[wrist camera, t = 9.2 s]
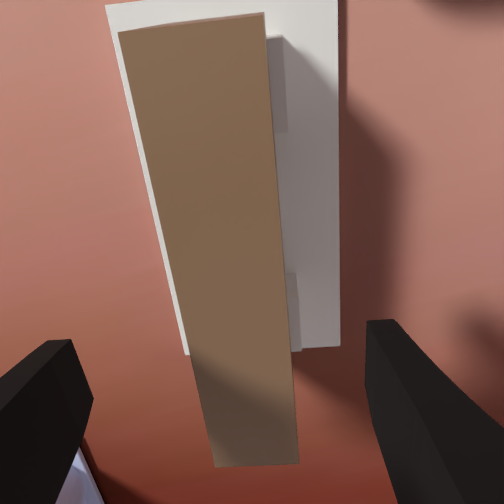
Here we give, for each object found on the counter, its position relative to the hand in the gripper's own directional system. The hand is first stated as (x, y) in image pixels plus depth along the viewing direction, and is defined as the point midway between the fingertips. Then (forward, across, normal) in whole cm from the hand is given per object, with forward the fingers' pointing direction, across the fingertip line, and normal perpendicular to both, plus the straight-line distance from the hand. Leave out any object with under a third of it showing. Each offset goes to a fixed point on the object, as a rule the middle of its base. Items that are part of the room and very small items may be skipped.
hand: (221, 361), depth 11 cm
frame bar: (+7, 0, 0) cm, 7 cm away
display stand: (+10, 0, 0) cm, 10 cm away
